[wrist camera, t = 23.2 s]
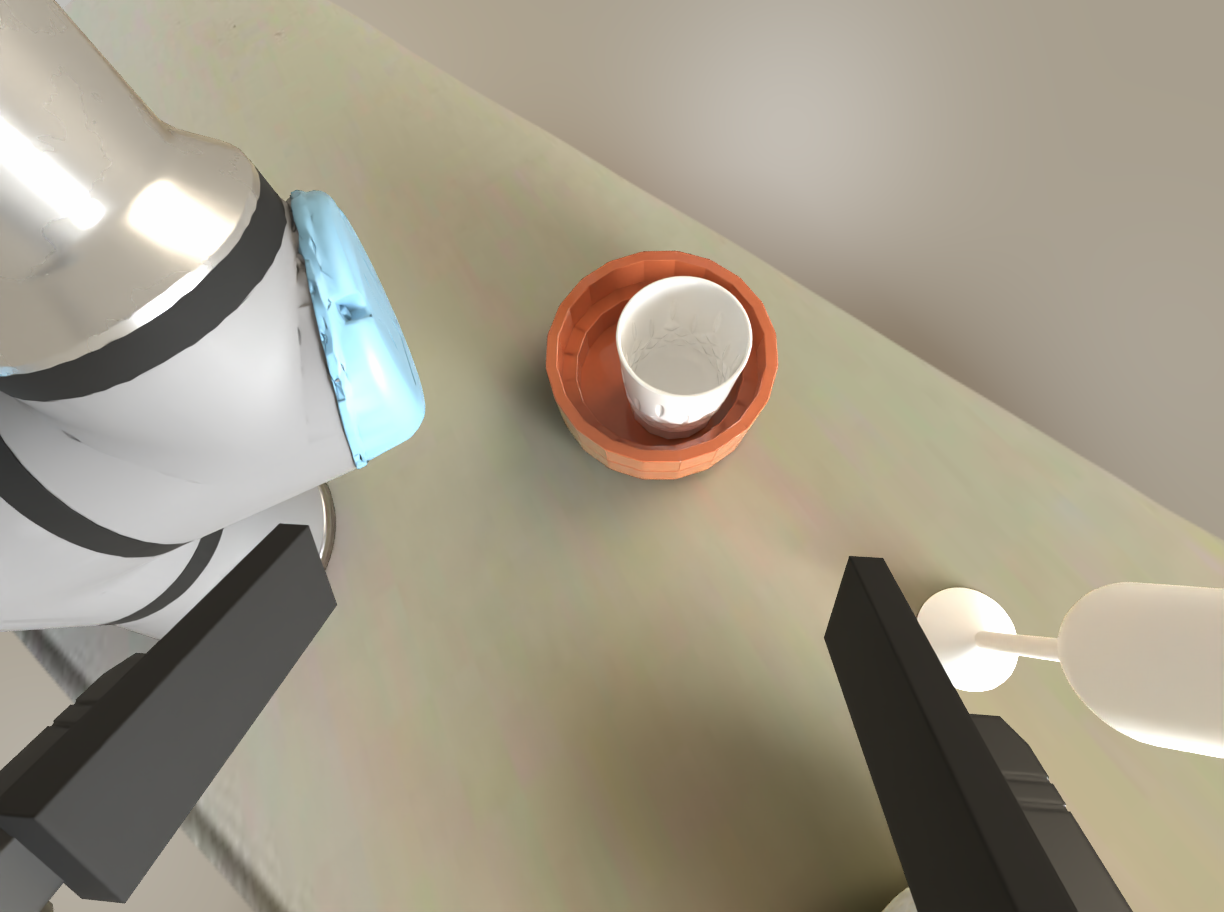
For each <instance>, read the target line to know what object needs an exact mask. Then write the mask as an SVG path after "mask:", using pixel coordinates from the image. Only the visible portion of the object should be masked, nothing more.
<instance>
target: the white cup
mask: <svg viewBox="0 0 1224 912" xmlns="http://www.w3.org/2000/svg"><path fill="white" fill-rule="evenodd" d="M616 345H617V350H618V356H619V361H620V367H621V373H622V378H623V382H624V386H625V390H626V395H627V398H628V401H629V404H630V407H631V409H632V412H633V415H634V418H635V420H636V421H637V422H638V423H639V424H641V425H642V426H643V427H644V428H645V429H646V430H647V431H648V432H649V433H651V434H654V435H657V436H660V437H663V438H666V439H677V438H687V437H690V436H691V435H693V434H695V433H697V432H698V431H700V430H702V429H703V428H705V427H706V426H707V424H708V423H709V421H710V419H711V418H712V416H713V415H714V414H715V413H716V412H717V411H718V410H719V408H720V407H721V405H722V404H723V403H724V401H725V399H726V397H727V396H728V394H729V392H730V391H731V389H732V387H733V385H734V384H735V382H736V380H737V378H738V377H739V375H740V373H741V372H742V370H743V368H744V367H745V365H746V363H747V361H748V358H749V355H750V352H751V347H752V329H751V324H750V321H749V318H748V315H747V313H746V311H745V309H744V308H743V306H742V305H741V303H740V302H739V301H738V300H737V299H736V298H735V297H734V296H733V295H732V294H731V293H730V292H729V291H728V290H726V289H725V288H723V287H722V286H720V285H718V284H716V283H714V282H712V281H709V280H706V279H703V278H698V277H692V276H675V277H669V278H664V279H661V280H658V281H655V282H653V283H651V284H649V285H647V286H646V287H644V288H642V289H641V290H640V291H638V292H637V293H636V294H635V295H634V296H633V297H632V298H631V299H630V300H629V302H628V303H627V304H626V306H625V307H624V309H623V311H622V313H621V315H620V318H619V320H618V324H617V329H616Z"/></svg>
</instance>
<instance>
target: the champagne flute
mask: <svg viewBox="0 0 1224 912" xmlns="http://www.w3.org/2000/svg"><path fill="white" fill-rule="evenodd" d="M917 620H918V622H919V624H920V626H921V628H922V630H923V631H924V633H925V635H926V637H927V639H928V640H929V642H930V644H931V646H932V648H933V649H934V651H935V653H936V655H937V657H938V658H939V660H940V662H941V664H942V666H943V668H944V669H945V671H946V673H947V675H948V677H949V678H950V680H951V682H952V684H953V686H954V687H955V688H958V689H962V690H965V691H975V692H978V691H986V690H989V689H992V688H995V687H997V686H998V685H1000V684H1001V683H1003V682H1004V681H1005V680H1006V679H1007V678H1008V677H1009V676H1010V675H1011V673H1012V671H1013V669H1014V668H1015V665H1016V662H1017V658H1018V655H1020V656H1026V657H1033V658H1039V659H1046V660H1052V661H1059V662H1060V664H1061V667H1062V670H1063V672H1064V675H1065V676H1066V678H1067V680H1068V682H1069V684H1070V686H1071V687H1072V689H1073V690H1074V691H1075V693H1076V694H1077V695H1078V697H1079V698H1080V699H1081V700H1082V702H1083V703H1084V704H1085V705H1086V706H1087V707H1088V708H1089V709H1090V710H1091V711H1092V712H1093V713H1094V714H1095V715H1096V716H1097V717H1099V718H1100V719H1101V720H1102V721H1104V722H1105V723H1107V724H1108V725H1109V726H1111V727H1112V728H1114V729H1115V730H1117V731H1119V732H1121V733H1123V734H1125V735H1127V736H1129V737H1131V738H1133V739H1135V740H1138V741H1140V742H1144V743H1148V744H1151V745H1155V746H1160V747H1165V748H1171V749H1176V750H1181V751H1187V752H1192V753H1198V754H1203V755H1208V756H1214V757H1219V758H1224V589H1220V588H1206V587H1192V586H1178V585H1164V584H1150V583H1136V582H1121V583H1114V584H1109V585H1106V586H1103V587H1100V588H1097V589H1095V590H1092V591H1090V592H1089V593H1087V594H1086V595H1084V596H1083V597H1081V598H1080V599H1079V600H1078V601H1077V602H1076V603H1075V604H1074V605H1073V606H1072V608H1071V609H1070V610H1069V611H1068V612H1067V614H1066V615H1065V617H1064V619H1063V621H1062V623H1061V627H1060V630H1059V634H1058V638H1049V637H1038V636H1028V635H1018V634H1016V631H1015V628H1014V626H1013V624H1012V622H1011V620H1010V618H1009V616H1008V615H1007V614H1006V612H1005V611H1004V610H1003V609H1002V608H1001V607H1000V606H999V605H998V604H997V603H996V602H995V601H994V600H992V599H991V598H989V597H988V596H986V595H985V594H982V593H980V592H978V591H976V590H972V589H968V588H949V589H945V590H942V591H939V592H937V593H936V594H934V595H933V596H931V597H930V598H929V599H928V600H927V601H926V602H925V603H924V605H923V606H922V608H921V610H920V611H919V614H918V617H917Z"/></svg>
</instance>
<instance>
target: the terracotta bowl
mask: <svg viewBox="0 0 1224 912" xmlns="http://www.w3.org/2000/svg"><path fill="white" fill-rule="evenodd" d="M675 276H692V277H698V278H703V279H706V280H709V281H712V282H714V283H716V284H718V285H720V286H722V287H723V288H725V289H726V290H728V291H729V292H730V293H731V294H732V295H733V296H734V297H735V298H736V299H737V300H738V301H739V302H740V303H741V305H742V306H743V308H744V309H745V311H746V313H747V315H748V318H749V321H750V324H751V329H752V347H751V352H750V355H749V358H748V361H747V363H746V365H745V367H744V368H743V370H742V372H741V373H740V375H739V377H738V378H737V380H736V382H735V384H734V385H733V387H732V389H731V391H730V392H729V394H728V396H727V397H726V399H725V401H724V403H723V404H722V405H721V407H720V408H719V410H718V411H717V412H716V413H715V414H714V415H713V416H712V418H711V419H710V421H709V423H708V424H707V426H706V427H705V428H703V429H702V430H700V431H698V432H697V433H695V434H693V435H691V436H690V437H687V438H677V439H666V438H663V437H660V436H657V435H654V434H651V433H649V432H648V431H647V430H646V429H645V428H644V427H643V426H642V425H641V424H639V423H638V422H637V421H636V420H635V418H634V415H633V412H632V409H631V407H630V404H629V401H628V398H627V395H626V390H625V386H624V382H623V378H622V373H621V367H620V361H619V356H618V350H617V345H616V329H617V324H618V320H619V318H620V315H621V313H622V311H623V309H624V307H625V306H626V304H627V303H628V302H629V300H630V299H631V298H632V297H633V296H634V295H635V294H636V293H637V292H638V291H640V290H641V289H642V288H644V287H646V286H647V285H649V284H651V283H653V282H655V281H658V280H661V279H664V278H669V277H675ZM777 369H778V355H777V341H776V333H775V330H774V328H773V326H772V323H771V321H770V319H769V316H768V314H767V312H766V310H765V307H764V305H763V303H762V301H761V300H760V299H759V298H758V297H757V296H756V295H755V294H754V293H753V291H752V290H751V289H750V288H749V287H748V286H747V285H746V284H745V283H744V281H743V280H742V279H741V278H739V277H738V276H737V275H735V274H733V273H732V272H730V271H728V270H727V269H725V268H723V267H722V266H720V265H718V264H717V263H715V262H713V261H712V260H710V259H706V258H702V257H699V256H695V255H691V254H687V253H683V252H679V251H643V252H639V253H636V254H633V255H629V256H626V257H623V258H619V259H616V260H612V261H610V262H608V263H606V264H605V265H603V266H601V267H600V268H598V269H597V270H595V271H594V272H592V273H590V274H589V275H587V276H586V277H584V278H583V279H582V280H581V281H580V282H579V283H578V284H577V285H576V286H575V288H574V289H573V290H572V291H571V292H570V293H569V295H568V296H567V297H566V298H565V299H564V301H563V302H562V303H561V304H560V306H559V308H558V310H557V313H556V315H555V318H554V320H553V323H552V325H551V328H550V330H549V332H548V336H547V350H546V371H547V375H548V378H549V381H550V385H551V388H552V392H553V395H554V398H555V401H556V403H557V406H558V408H559V410H560V413H561V415H562V417H563V420H564V422H565V424H566V426H567V428H568V429H569V430H570V432H571V433H572V434H573V436H574V437H575V439H576V440H577V441H578V443H579V444H580V446H581V447H582V448H583V449H584V451H586V452H587V453H589V454H590V455H591V456H593V457H594V458H596V459H597V460H598V461H600V462H601V463H602V464H604V465H605V466H607V467H608V468H610V469H612V470H615V471H618V472H621V473H624V474H627V475H631V476H634V477H637V478H640V479H678V478H681V477H684V476H688V475H691V474H694V473H697V472H700V471H704V470H707V469H708V468H710V467H711V466H713V465H714V464H716V463H717V462H718V461H720V460H721V459H723V458H724V457H725V456H727V455H728V454H730V453H731V452H732V451H734V450H735V448H736V447H737V445H738V444H739V443H740V441H741V440H742V439H743V437H744V436H745V434H746V433H747V432H748V430H749V429H750V427H751V426H752V425H753V423H754V422H755V420H756V419H757V417H758V416H759V414H760V413H761V411H762V409H763V408H764V406H765V405H766V403H767V402H768V400H769V397H770V394H771V390H772V387H773V383H774V380H775V376H776V373H777Z"/></svg>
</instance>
